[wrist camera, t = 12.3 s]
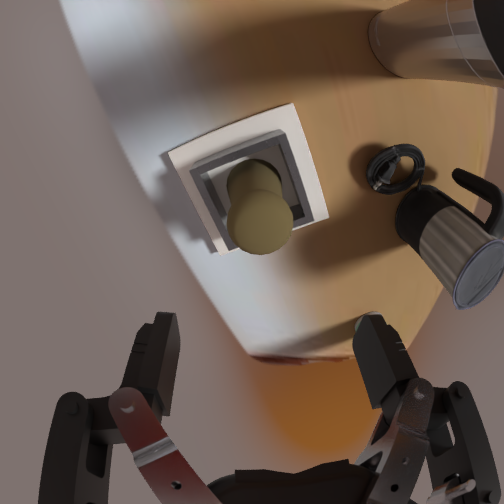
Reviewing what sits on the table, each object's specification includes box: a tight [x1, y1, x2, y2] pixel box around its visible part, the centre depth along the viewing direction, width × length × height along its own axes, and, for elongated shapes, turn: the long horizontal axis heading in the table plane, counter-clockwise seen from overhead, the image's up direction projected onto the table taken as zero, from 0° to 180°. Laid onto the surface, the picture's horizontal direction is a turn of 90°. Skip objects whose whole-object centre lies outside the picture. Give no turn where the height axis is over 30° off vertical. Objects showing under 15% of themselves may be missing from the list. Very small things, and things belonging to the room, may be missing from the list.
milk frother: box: [366, 144, 504, 310], centre depth 25 cm, size 14×16×15 cm
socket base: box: [168, 103, 329, 256], centre depth 30 cm, size 14×14×1 cm
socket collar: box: [189, 129, 314, 251], centre depth 28 cm, size 10×10×4 cm
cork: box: [226, 159, 293, 255], centre depth 25 cm, size 6×6×11 cm
